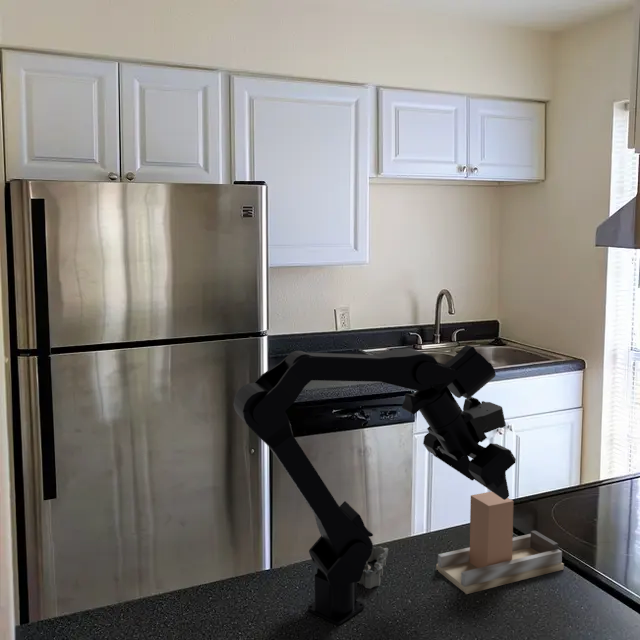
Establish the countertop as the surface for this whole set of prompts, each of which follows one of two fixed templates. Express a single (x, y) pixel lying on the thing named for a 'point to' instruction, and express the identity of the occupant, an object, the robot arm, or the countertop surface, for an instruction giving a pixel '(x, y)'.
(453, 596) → the countertop surface
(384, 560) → the egg carton
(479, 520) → the chute block
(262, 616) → the countertop surface
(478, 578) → the chute
